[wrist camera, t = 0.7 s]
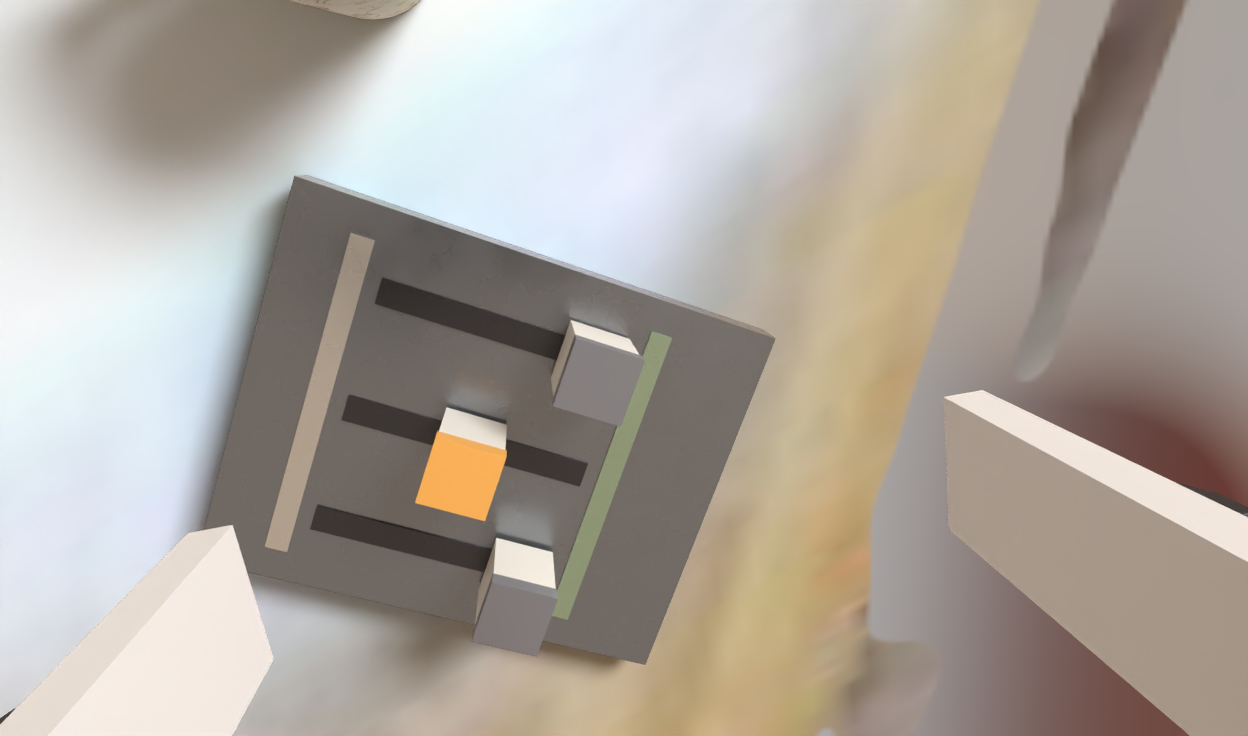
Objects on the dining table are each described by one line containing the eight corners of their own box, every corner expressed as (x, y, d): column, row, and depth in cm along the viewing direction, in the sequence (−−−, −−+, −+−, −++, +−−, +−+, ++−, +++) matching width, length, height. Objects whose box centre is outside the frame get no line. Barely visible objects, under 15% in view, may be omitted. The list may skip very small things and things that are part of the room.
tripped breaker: (427, 464, 35) (414, 502, 31) (445, 406, 34) (435, 437, 30) (489, 481, 35) (484, 521, 31) (508, 424, 35) (506, 457, 31)
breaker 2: (549, 378, 34) (552, 406, 30) (569, 318, 34) (576, 338, 30) (609, 397, 35) (621, 426, 31) (630, 338, 34) (645, 360, 30)
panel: (213, 539, 37) (195, 560, 35) (307, 175, 33) (293, 175, 31) (639, 641, 41) (645, 666, 39) (762, 329, 38) (776, 338, 36)
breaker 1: (477, 589, 37) (471, 641, 33) (495, 536, 36) (491, 582, 32) (535, 603, 37) (536, 656, 33) (554, 551, 37) (557, 598, 33)
